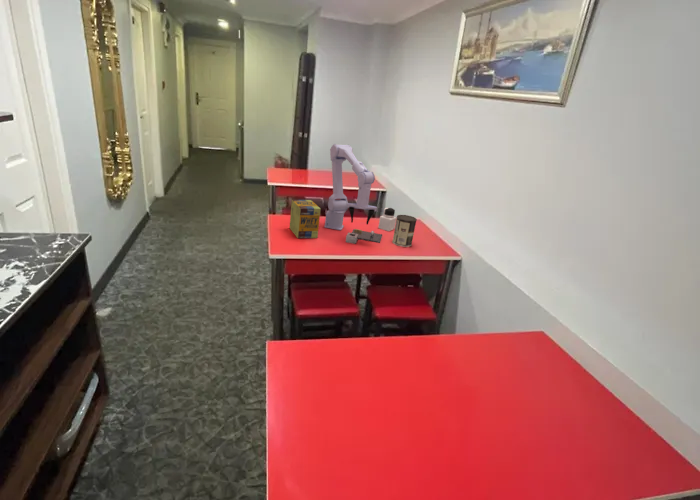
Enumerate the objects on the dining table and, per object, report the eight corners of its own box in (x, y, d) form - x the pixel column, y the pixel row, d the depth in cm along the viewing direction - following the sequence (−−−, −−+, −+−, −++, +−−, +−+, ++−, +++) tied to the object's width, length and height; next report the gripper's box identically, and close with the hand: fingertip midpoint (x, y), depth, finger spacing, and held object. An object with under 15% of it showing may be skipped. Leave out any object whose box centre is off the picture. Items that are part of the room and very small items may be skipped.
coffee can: (408, 240, 206) (413, 215, 200) (414, 247, 196) (419, 221, 191) (389, 239, 204) (394, 213, 198) (395, 246, 194) (400, 220, 189)
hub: (345, 242, 191) (346, 235, 189) (347, 238, 195) (348, 232, 194) (355, 244, 190) (356, 237, 189) (357, 240, 195) (358, 234, 193)
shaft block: (349, 237, 198) (350, 231, 196) (353, 230, 209) (354, 224, 207) (379, 243, 196) (381, 236, 194) (382, 235, 207) (383, 229, 205)
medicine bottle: (394, 229, 221) (398, 209, 216) (388, 231, 215) (392, 211, 211) (383, 225, 224) (387, 206, 220) (377, 228, 218) (381, 208, 214)
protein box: (297, 238, 186) (300, 208, 180) (289, 228, 199) (291, 199, 193) (317, 238, 191) (321, 208, 185) (308, 227, 203) (311, 199, 198)
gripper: (348, 196, 182) (345, 223, 187) (378, 200, 183) (374, 227, 188) (348, 193, 189) (345, 219, 194) (377, 196, 189) (373, 222, 194)
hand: (359, 222), depth 191 cm, fingers open, 7 cm apart
